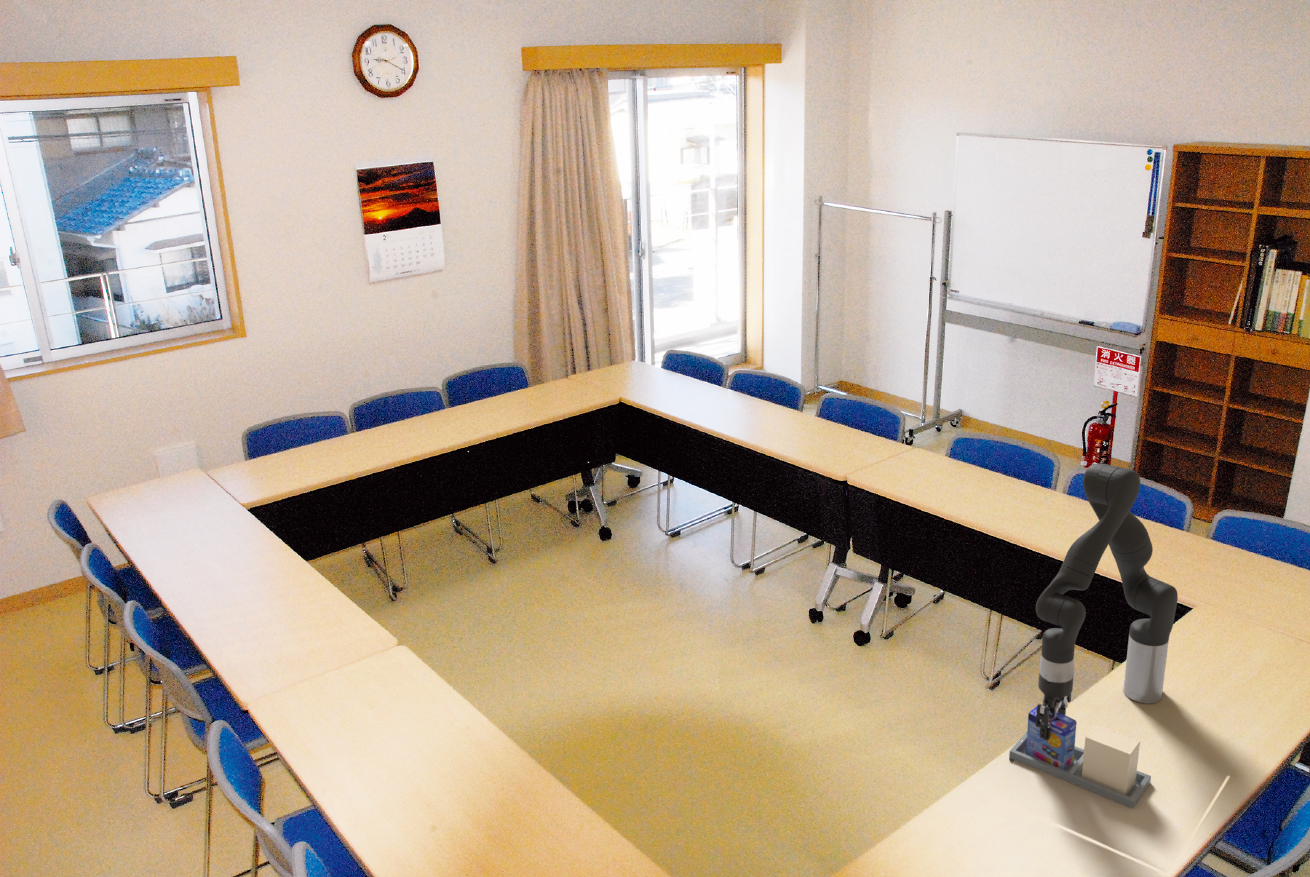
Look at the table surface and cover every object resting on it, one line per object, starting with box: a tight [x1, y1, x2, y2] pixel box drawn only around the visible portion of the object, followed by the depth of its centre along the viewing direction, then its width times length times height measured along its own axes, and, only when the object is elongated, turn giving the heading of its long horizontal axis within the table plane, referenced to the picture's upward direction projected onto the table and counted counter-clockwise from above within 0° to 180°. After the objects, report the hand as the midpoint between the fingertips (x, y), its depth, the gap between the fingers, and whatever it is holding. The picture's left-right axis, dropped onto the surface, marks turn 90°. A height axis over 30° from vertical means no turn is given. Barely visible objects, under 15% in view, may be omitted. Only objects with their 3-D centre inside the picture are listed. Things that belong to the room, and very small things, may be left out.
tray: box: [1008, 731, 1152, 810], centre depth 247 cm, size 11×29×2 cm, turn 47°
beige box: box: [1082, 724, 1141, 796], centre depth 240 cm, size 6×10×12 cm, turn 47°
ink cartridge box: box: [1026, 705, 1077, 770], centre depth 249 cm, size 10×6×14 cm, turn 40°
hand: (1052, 729), depth 249 cm, fingers open, 8 cm apart
